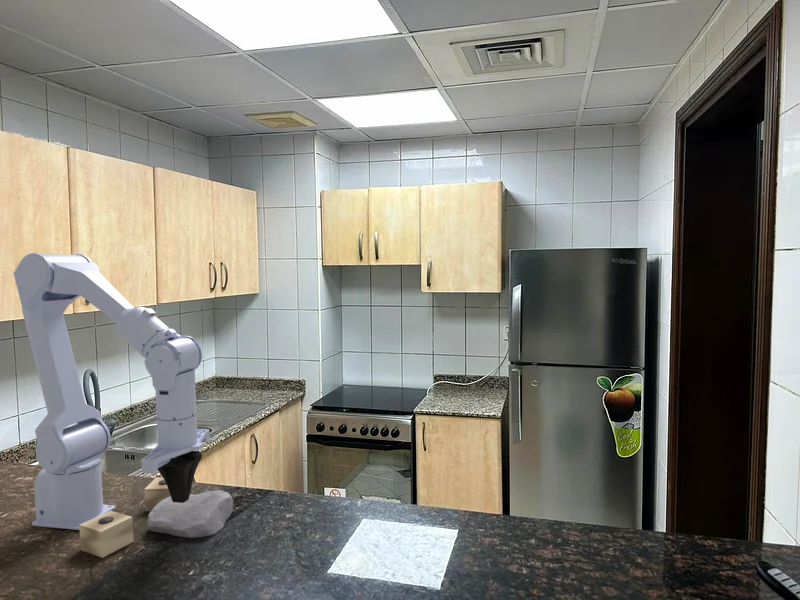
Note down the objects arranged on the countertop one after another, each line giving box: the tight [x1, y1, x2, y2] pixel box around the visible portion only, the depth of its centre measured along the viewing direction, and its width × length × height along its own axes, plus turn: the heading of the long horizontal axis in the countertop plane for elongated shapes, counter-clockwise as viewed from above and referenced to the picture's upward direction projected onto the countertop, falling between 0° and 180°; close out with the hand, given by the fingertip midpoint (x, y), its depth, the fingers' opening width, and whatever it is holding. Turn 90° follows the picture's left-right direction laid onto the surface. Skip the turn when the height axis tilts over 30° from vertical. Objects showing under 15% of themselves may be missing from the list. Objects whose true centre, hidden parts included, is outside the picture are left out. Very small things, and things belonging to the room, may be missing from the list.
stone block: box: [146, 489, 234, 539], centre depth 87 cm, size 12×5×10 cm
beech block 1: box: [79, 510, 134, 559], centre depth 80 cm, size 5×5×4 cm
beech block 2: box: [143, 477, 170, 512], centre depth 94 cm, size 5×5×4 cm
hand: (180, 500), depth 84 cm, fingers closed
